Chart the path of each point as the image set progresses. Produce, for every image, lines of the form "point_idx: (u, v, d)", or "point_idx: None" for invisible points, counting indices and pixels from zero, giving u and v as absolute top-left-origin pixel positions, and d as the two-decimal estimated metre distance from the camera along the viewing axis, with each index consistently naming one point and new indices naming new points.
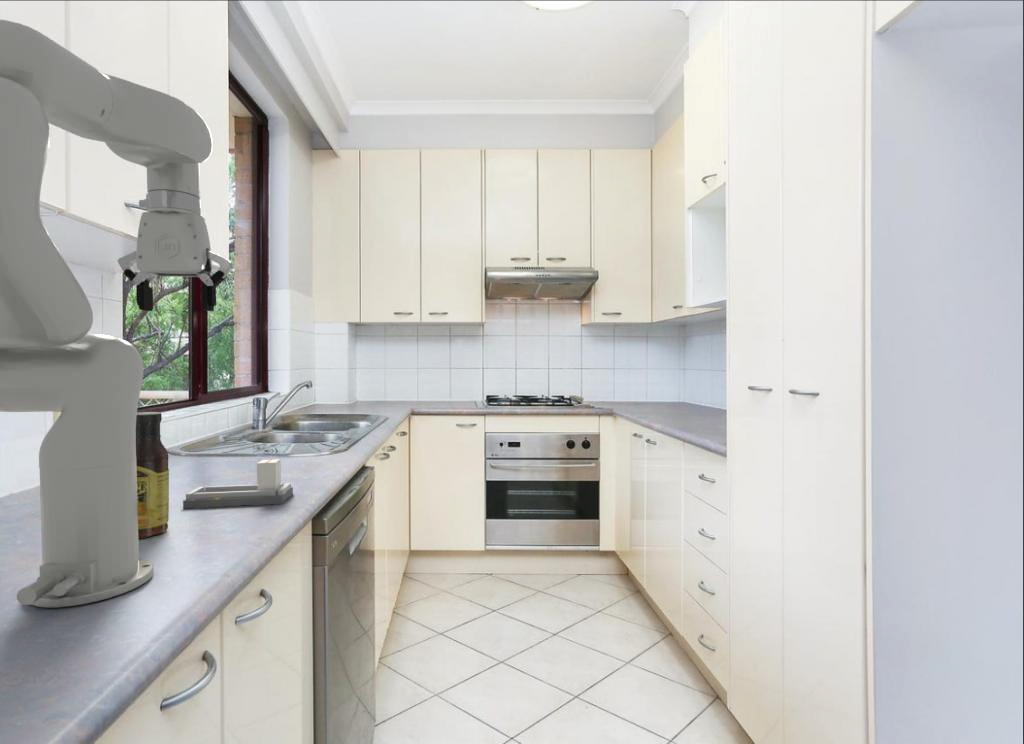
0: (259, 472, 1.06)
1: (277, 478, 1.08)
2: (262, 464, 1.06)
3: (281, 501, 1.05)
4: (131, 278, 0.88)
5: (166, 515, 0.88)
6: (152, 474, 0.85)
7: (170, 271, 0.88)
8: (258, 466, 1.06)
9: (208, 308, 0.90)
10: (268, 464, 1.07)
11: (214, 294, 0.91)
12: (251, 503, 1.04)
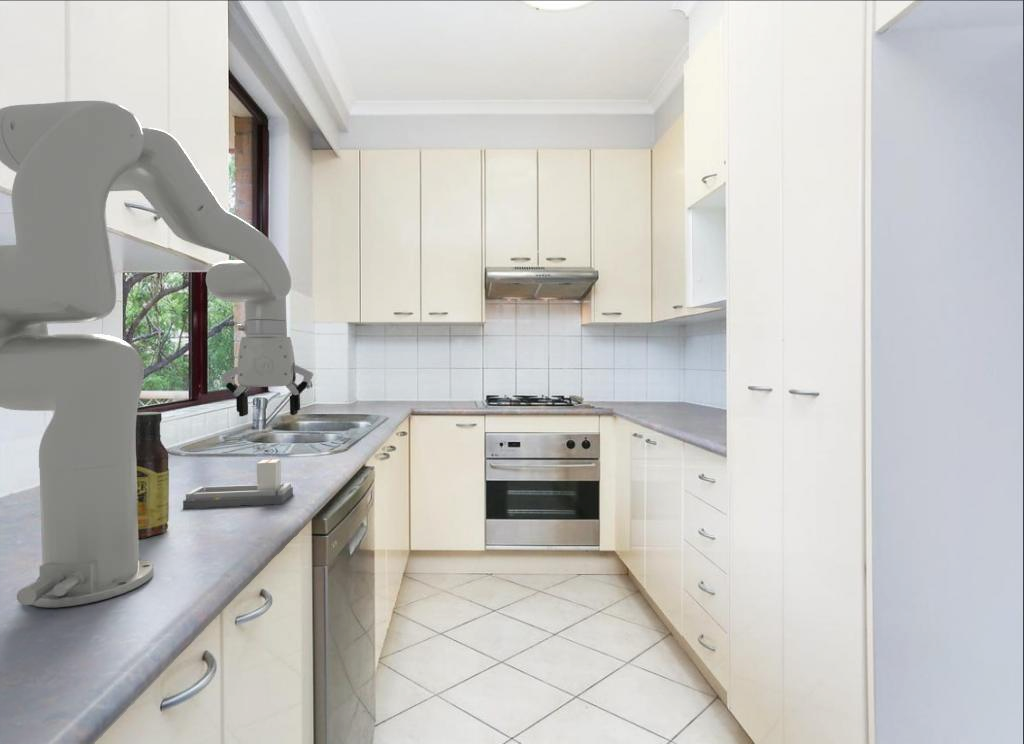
0: (259, 472, 1.06)
1: (277, 478, 1.08)
2: (262, 464, 1.06)
3: (281, 501, 1.05)
4: (232, 390, 1.06)
5: (166, 515, 0.88)
6: (152, 474, 0.85)
7: (265, 385, 1.06)
8: (258, 466, 1.06)
9: (294, 413, 1.08)
10: (268, 464, 1.07)
11: (299, 400, 1.09)
12: (251, 503, 1.04)
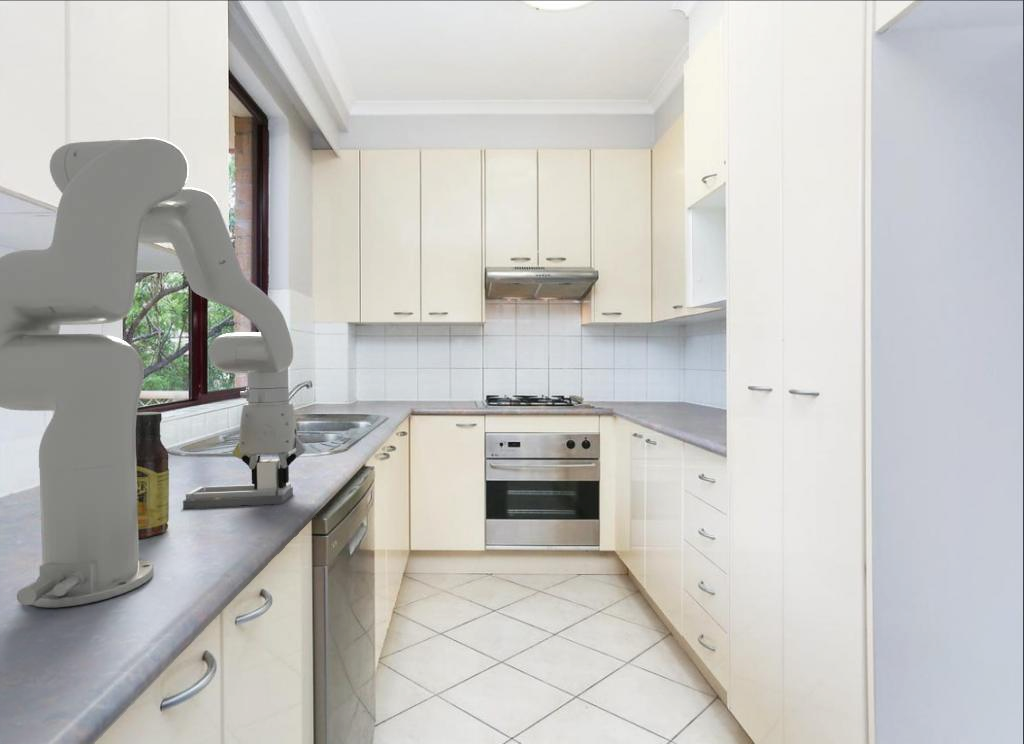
0: (259, 472, 1.06)
1: (277, 478, 1.08)
2: (262, 464, 1.06)
3: (281, 501, 1.05)
4: (247, 463, 1.07)
5: (166, 515, 0.88)
6: (152, 474, 0.85)
7: (267, 453, 1.06)
8: (258, 466, 1.06)
9: (283, 485, 1.08)
10: (268, 464, 1.07)
11: (287, 472, 1.09)
12: (251, 503, 1.04)
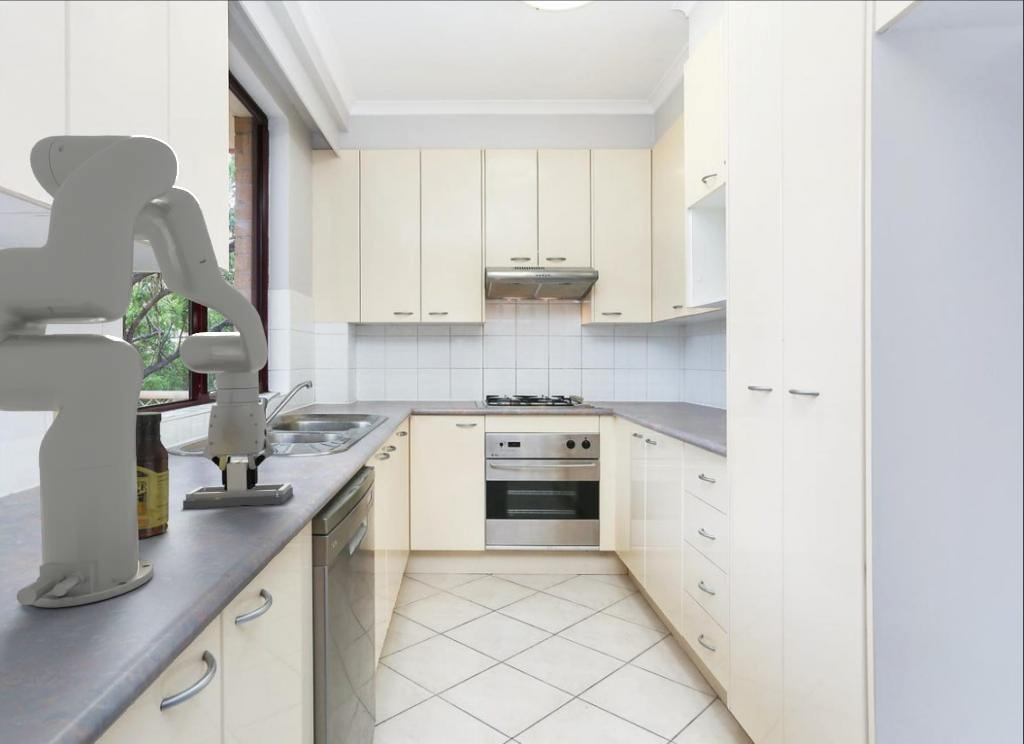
0: (229, 473, 1.06)
1: None
2: (232, 465, 1.06)
3: (281, 501, 1.05)
4: (217, 464, 1.06)
5: (166, 515, 0.88)
6: (152, 474, 0.85)
7: (235, 454, 1.05)
8: (228, 467, 1.05)
9: (251, 486, 1.07)
10: (238, 465, 1.06)
11: (256, 473, 1.08)
12: (251, 503, 1.04)
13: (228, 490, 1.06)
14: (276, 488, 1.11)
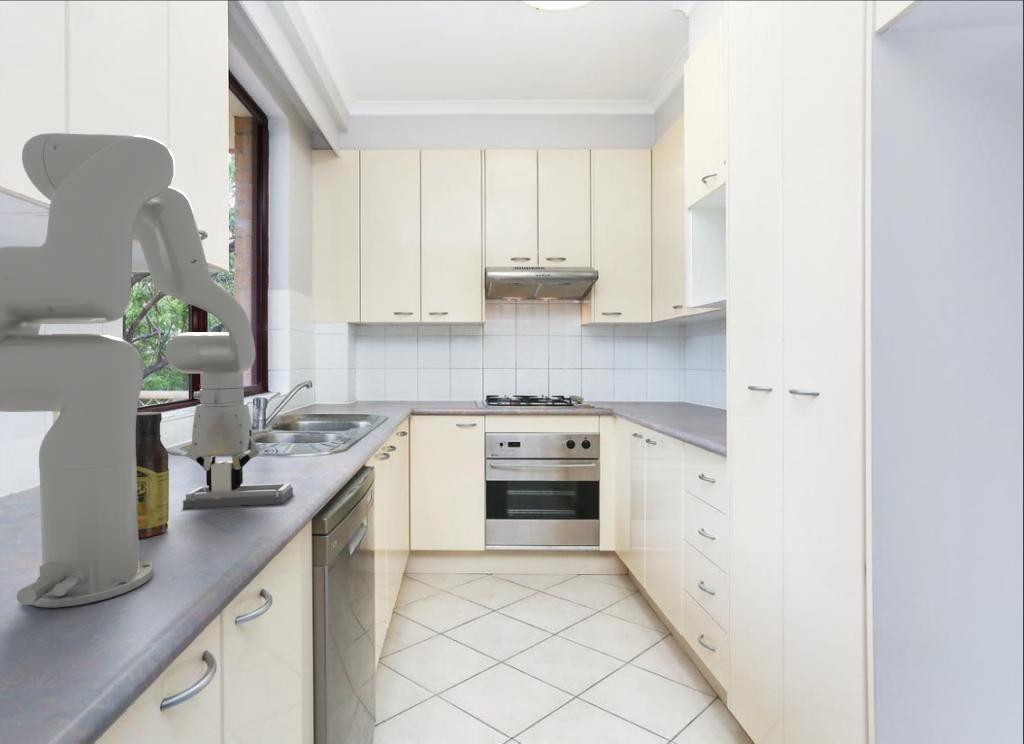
0: (213, 473, 1.05)
1: None
2: (216, 466, 1.05)
3: (281, 501, 1.05)
4: (202, 464, 1.06)
5: (166, 515, 0.88)
6: (152, 474, 0.85)
7: (220, 454, 1.05)
8: (212, 468, 1.05)
9: (236, 487, 1.07)
10: (223, 466, 1.05)
11: (241, 474, 1.08)
12: (251, 503, 1.04)
13: (212, 491, 1.05)
14: (276, 488, 1.11)
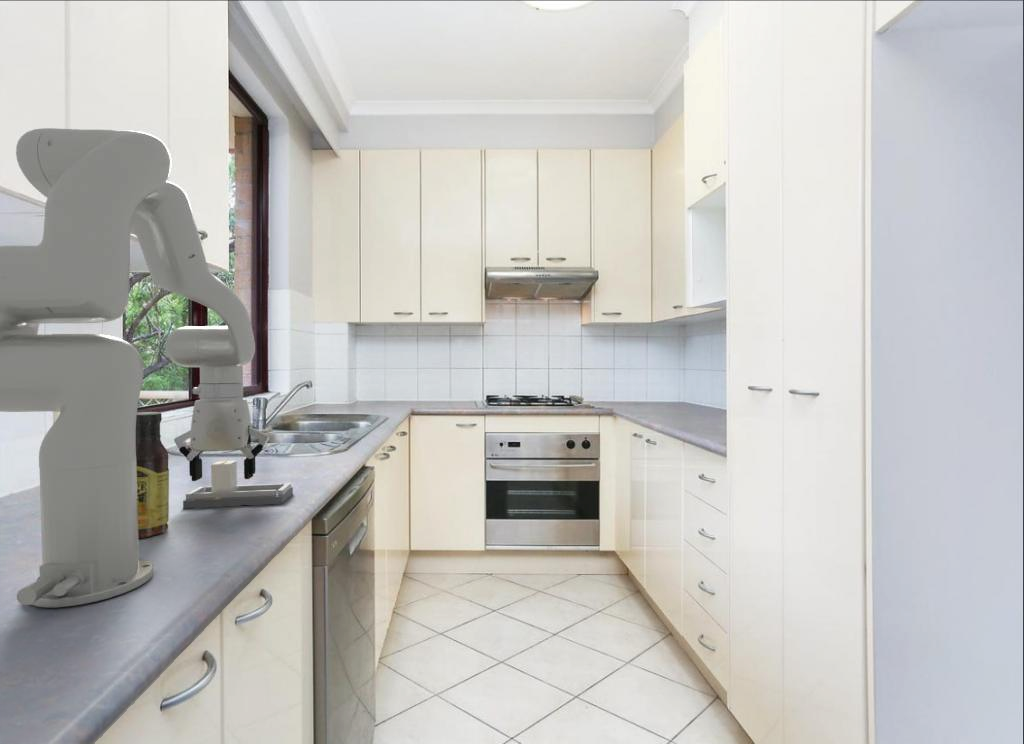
0: (213, 473, 1.05)
1: (232, 480, 1.07)
2: (216, 466, 1.05)
3: (281, 501, 1.05)
4: (185, 454, 1.05)
5: (166, 515, 0.88)
6: (152, 474, 0.85)
7: (218, 449, 1.04)
8: (212, 468, 1.05)
9: (249, 476, 1.07)
10: (222, 466, 1.05)
11: (254, 463, 1.08)
12: (251, 503, 1.04)
13: (212, 491, 1.05)
14: (276, 488, 1.11)
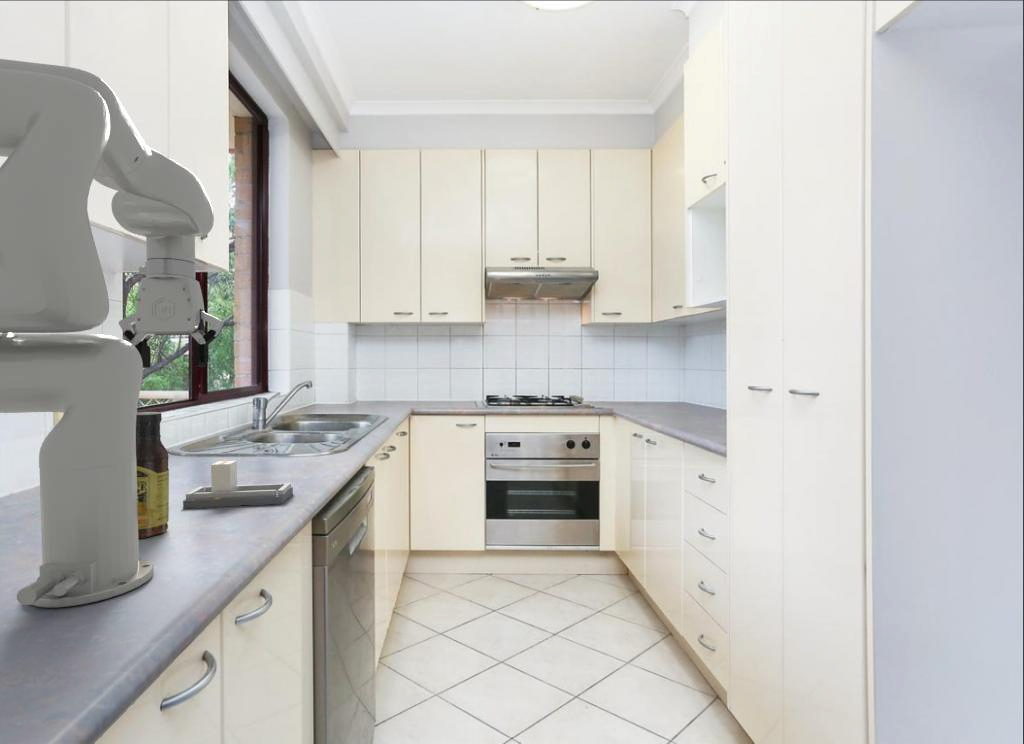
0: (213, 473, 1.05)
1: (232, 480, 1.07)
2: (216, 466, 1.05)
3: (281, 501, 1.05)
4: (130, 338, 0.96)
5: (166, 515, 0.88)
6: (152, 474, 0.85)
7: (166, 332, 0.95)
8: (212, 468, 1.05)
9: (201, 364, 0.97)
10: (222, 466, 1.05)
11: (206, 351, 0.98)
12: (251, 503, 1.04)
13: (212, 491, 1.05)
14: (276, 488, 1.11)
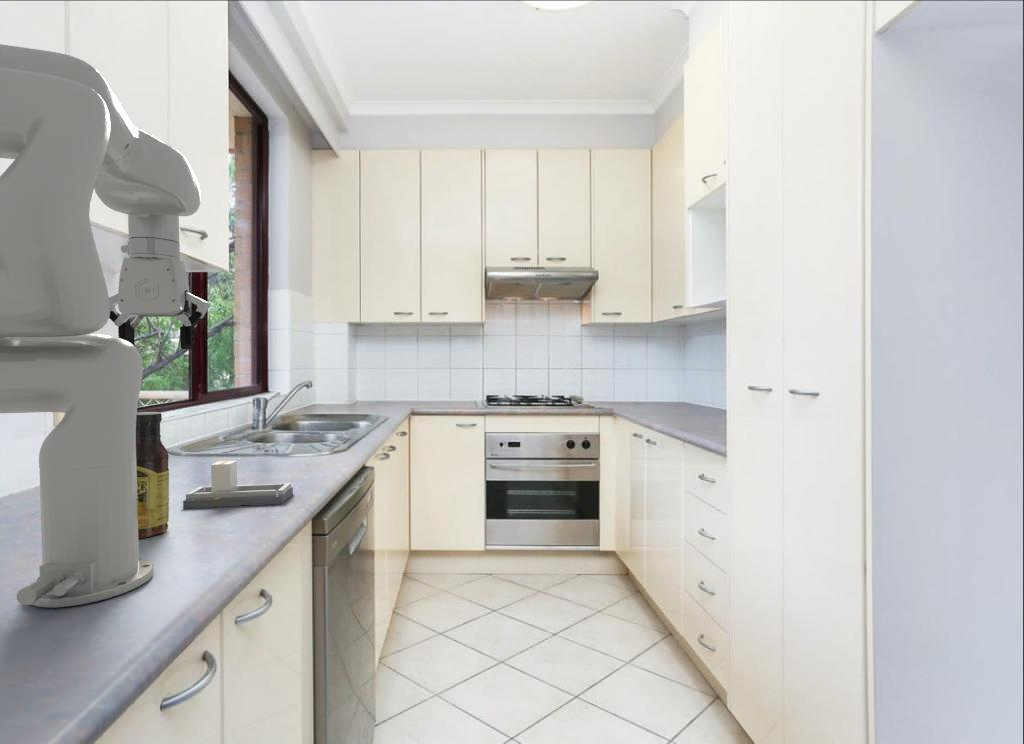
0: (213, 473, 1.05)
1: (232, 480, 1.07)
2: (216, 466, 1.05)
3: (281, 501, 1.05)
4: (113, 319, 0.94)
5: (166, 515, 0.88)
6: (152, 474, 0.85)
7: (150, 313, 0.93)
8: (212, 468, 1.05)
9: (186, 347, 0.96)
10: (222, 466, 1.05)
11: (192, 333, 0.96)
12: (251, 503, 1.04)
13: (212, 491, 1.05)
14: (276, 488, 1.11)
